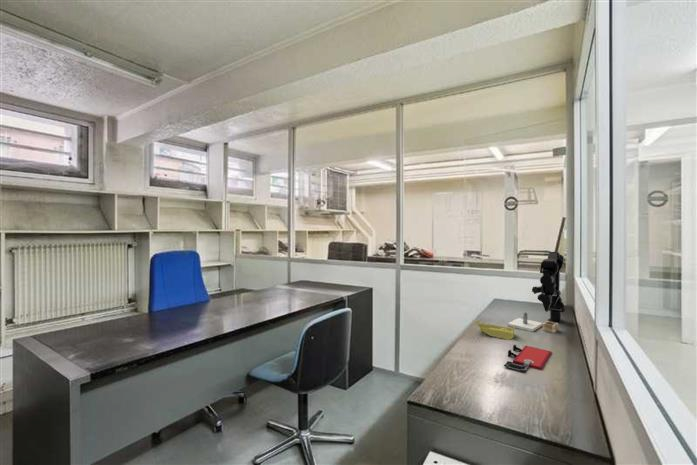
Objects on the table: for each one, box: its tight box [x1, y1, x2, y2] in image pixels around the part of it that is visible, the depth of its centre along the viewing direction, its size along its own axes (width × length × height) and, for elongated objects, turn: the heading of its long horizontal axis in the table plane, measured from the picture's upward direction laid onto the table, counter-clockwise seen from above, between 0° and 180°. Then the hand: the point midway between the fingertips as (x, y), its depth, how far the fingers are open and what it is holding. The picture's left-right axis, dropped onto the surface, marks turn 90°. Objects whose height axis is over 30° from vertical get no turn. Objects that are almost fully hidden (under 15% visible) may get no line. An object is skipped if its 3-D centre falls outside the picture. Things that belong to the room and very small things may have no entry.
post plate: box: [507, 311, 544, 332], centre depth 199 cm, size 15×14×8 cm
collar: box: [542, 320, 559, 333], centre depth 190 cm, size 6×6×4 cm
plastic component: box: [475, 319, 515, 340], centre depth 187 cm, size 20×7×10 cm
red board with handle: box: [503, 344, 552, 372], centre depth 154 cm, size 30×3×15 cm
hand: (549, 309), depth 190 cm, fingers open, 9 cm apart
